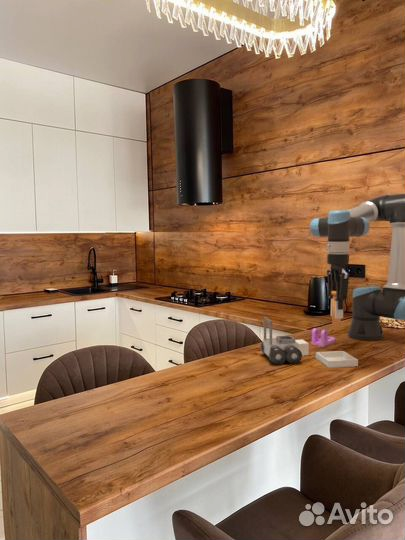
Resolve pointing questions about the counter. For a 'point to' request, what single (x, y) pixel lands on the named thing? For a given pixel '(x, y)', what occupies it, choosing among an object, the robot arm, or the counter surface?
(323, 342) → the bracket
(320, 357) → the tray
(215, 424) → the counter surface
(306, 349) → the off-white matte cube
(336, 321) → the pin
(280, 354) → the trolley
